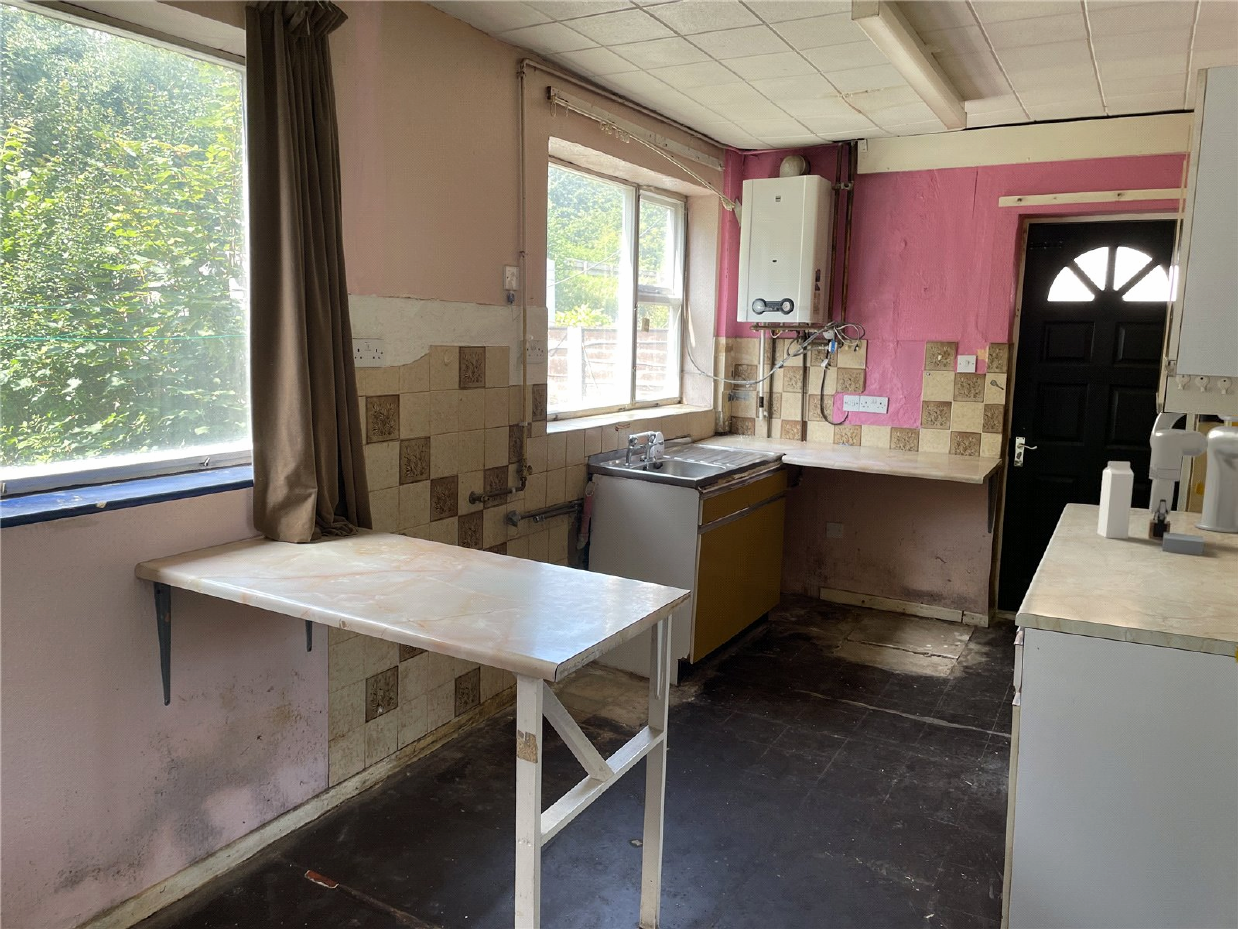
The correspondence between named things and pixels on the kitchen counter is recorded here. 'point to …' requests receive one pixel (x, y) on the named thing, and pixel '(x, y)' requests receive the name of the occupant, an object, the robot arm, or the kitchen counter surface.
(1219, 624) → the kitchen counter surface
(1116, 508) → the milk
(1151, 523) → the walnut cube
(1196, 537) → the grey slab
